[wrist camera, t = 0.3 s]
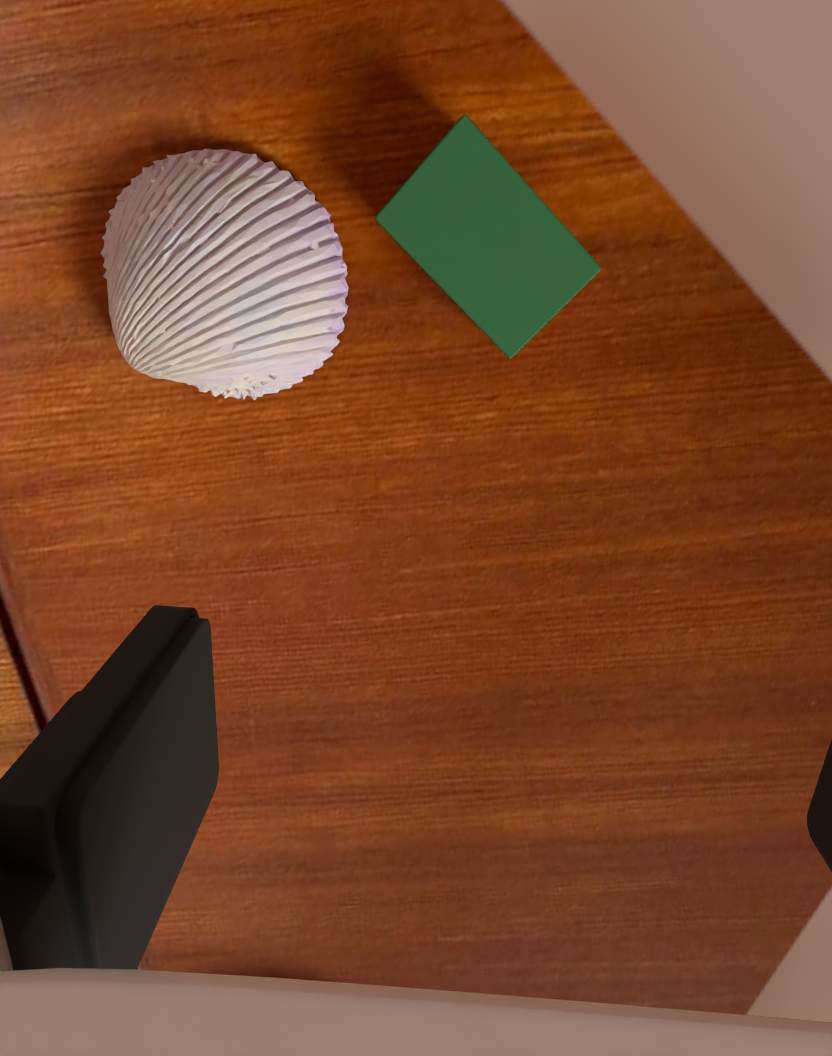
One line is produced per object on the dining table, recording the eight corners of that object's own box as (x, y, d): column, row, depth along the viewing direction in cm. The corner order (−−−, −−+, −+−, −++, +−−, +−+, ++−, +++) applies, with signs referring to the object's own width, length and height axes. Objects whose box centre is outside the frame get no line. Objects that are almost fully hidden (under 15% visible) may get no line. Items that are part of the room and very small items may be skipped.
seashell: (7, 273, 27) (156, 70, 22) (94, 254, 32) (233, 83, 27) (193, 474, 30) (362, 329, 25) (249, 429, 34) (400, 299, 30)
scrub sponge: (382, 221, 29) (373, 218, 25) (462, 128, 27) (464, 112, 24) (503, 347, 30) (510, 359, 27) (585, 266, 29) (602, 268, 26)
